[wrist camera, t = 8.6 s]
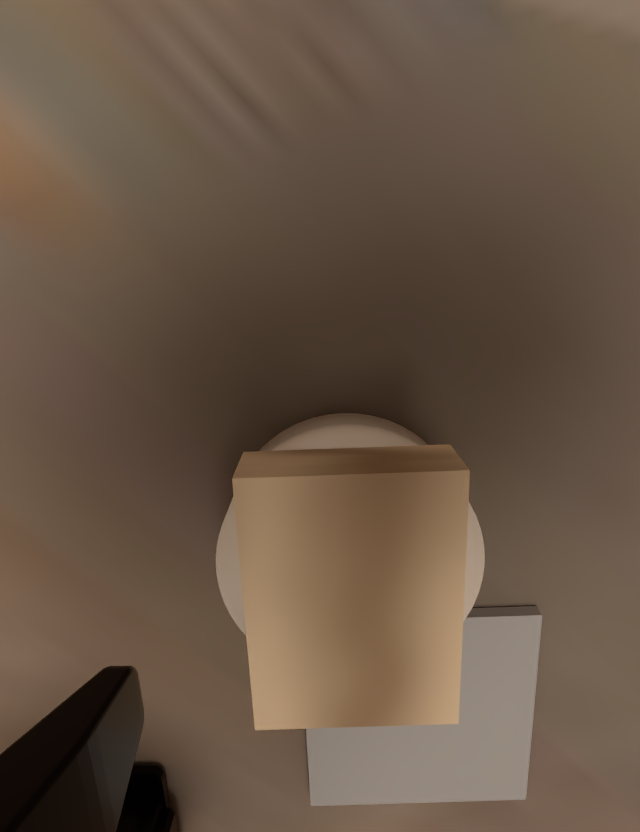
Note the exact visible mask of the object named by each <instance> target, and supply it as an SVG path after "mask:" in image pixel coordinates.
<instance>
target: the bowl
mask: <svg viewBox="0 0 640 832" xmlns="http://www.w3.org/2000/svg"><path fill="white" fill-rule="evenodd" d="M418 445H428V444H427V443H426V442H425V441H424V440H422V439H421V438H420V437H419V436H417V435H416V434H415V433H413V432H411V431H410V430H408V429H406V428H405V427H403V426H401V425H399V424H396V423H394V422H392V421H389V420H386V419H383V418H379V417H376V416H371V415H364V414H358V413H339V414H329V415H323V416H319V417H315V418H311V419H308V420H305V421H303V422H300V423H297V424H295V425H293V426H291V427H289V428H287V429H286V430H284V431H282V432H281V433H279V434H278V435H276V436H275V437H274V438H272V439H271V440H270V441H268V442H267V443H266V444H265V445H264V446H263V447H262V448H261V449H260V450H259V451H279V450H307V449H335V448H363V447H391V446H418ZM484 564H485V555H484V543H483V537H482V531H481V528H480V525H479V522H478V519H477V516H476V515H475V513H474V511H473V509H472V507H471V505H470V503H469V504H468V526H467V548H466V570H465V592H464V614H463V622H464V621H465V619H466V617H467V616H468V614H469V612H470V611H471V609H472V607H473V605H474V603H475V600H476V598H477V596H478V594H479V590H480V586H481V583H482V579H483V572H484ZM216 574H217V580H218V585H219V589H220V592H221V595H222V598H223V601H224V603H225V605H226V607H227V609H228V611H229V613H230V615H231V617H232V618H233V620H234V621H235V623H236V624H237V626H238V627H239V629H240V630H241V631H242V632H243V633H244V634H245V635H246V627H245V616H244V605H243V594H242V583H241V572H240V561H239V550H238V539H237V529H236V518H235V507H234V496H233V498H232V501H231V503H230V506H229V508H228V511H227V513H226V516H225V519H224V521H223V524H222V526H221V530H220V534H219V538H218V541H217V550H216Z"/></svg>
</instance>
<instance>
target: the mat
mask: <svg viewBox="0 0 640 832" xmlns="http://www.w3.org/2000/svg"><path fill="white" fill-rule="evenodd" d="M541 624H542V614H541V612H540V611H539V609H538V608H537V606H519V607H491V608H472V609H471V611H470V612H469V614H468V616H467V617H466V619H465V621H464V622H463V637H462V659H461V681H460V703H459V724H441V725H408V726H375V727H342V728H308V729H306V737H307V753H308V769H309V785H310V802H311V806H330V805H363V804H395V803H428V802H461V801H493V800H526V792H527V781H528V770H529V759H530V748H531V736H532V725H533V714H534V703H535V691H536V680H537V669H538V658H539V646H540V635H541Z"/></svg>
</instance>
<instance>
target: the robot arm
mask: <svg viewBox="0 0 640 832" xmlns="http://www.w3.org/2000/svg"><path fill="white" fill-rule="evenodd" d="M143 722H144V707H143V701H142V695H141V689H140V683H139V677H138V673H137V670H136V669H135V668H134V667H133V666H109V667H106V668H104V669H103V670H101V671H100V672H99V673H97V674H96V675H95V676H94V677H93V678H91V679H90V680H89V681H88V682H87V683H85V684H84V685H83V686H82V687H81V688H79V689H78V690H77V691H76V692H75V693H73V694H72V695H71V696H70V697H69V698H67V699H66V700H65V701H64V702H63V703H61V704H60V705H59V706H58V707H57V708H55V709H54V710H53V711H52V712H51V713H49V714H48V715H47V716H46V717H45V718H43V719H42V720H41V721H40V722H38V723H37V724H36V725H35V726H34V727H32V728H31V729H30V730H29V731H28V732H26V733H25V734H24V735H23V736H22V737H20V738H19V739H18V740H17V741H16V742H14V743H13V744H12V745H11V746H10V747H8V748H7V749H6V750H5V751H4V752H2V753H1V754H0V832H178V826H177V820H176V813H175V811H174V810H173V808H172V807H170V803H169V797H168V791H167V785H166V778H165V773H164V771H163V770H162V769H161V768H160V767H158V766H133V763H134V759H135V756H136V752H137V748H138V744H139V740H140V736H141V732H142V728H143Z"/></svg>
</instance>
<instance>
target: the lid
mask: <svg viewBox="0 0 640 832" xmlns="http://www.w3.org/2000/svg"><path fill="white" fill-rule="evenodd" d="M469 482H470V470H469V468H468V467H467V466H466V464H465V463H464V462H463V460H462V459H461V458H460V456H459V455H458V454H457V452H456V451H455V450H454V448H453V447H452V446H451V445H450V444H446V445H418V446H391V447H363V448H335V449H307V450H279V451H251V452H243V454H242V456H241V459H240V461H239V463H238V466H237V468H236V470H235V473H234V475H233V477H232V485H233V496H234V507H235V518H236V529H237V539H238V550H239V561H240V572H241V583H242V594H243V605H244V616H245V627H246V638H247V649H248V660H249V671H250V682H251V692H252V703H253V714H254V725H255V730H275V729H308V728H342V727H375V726H408V725H441V724H459V703H460V681H461V659H462V637H463V614H464V592H465V570H466V548H467V526H468V504H469Z"/></svg>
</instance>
